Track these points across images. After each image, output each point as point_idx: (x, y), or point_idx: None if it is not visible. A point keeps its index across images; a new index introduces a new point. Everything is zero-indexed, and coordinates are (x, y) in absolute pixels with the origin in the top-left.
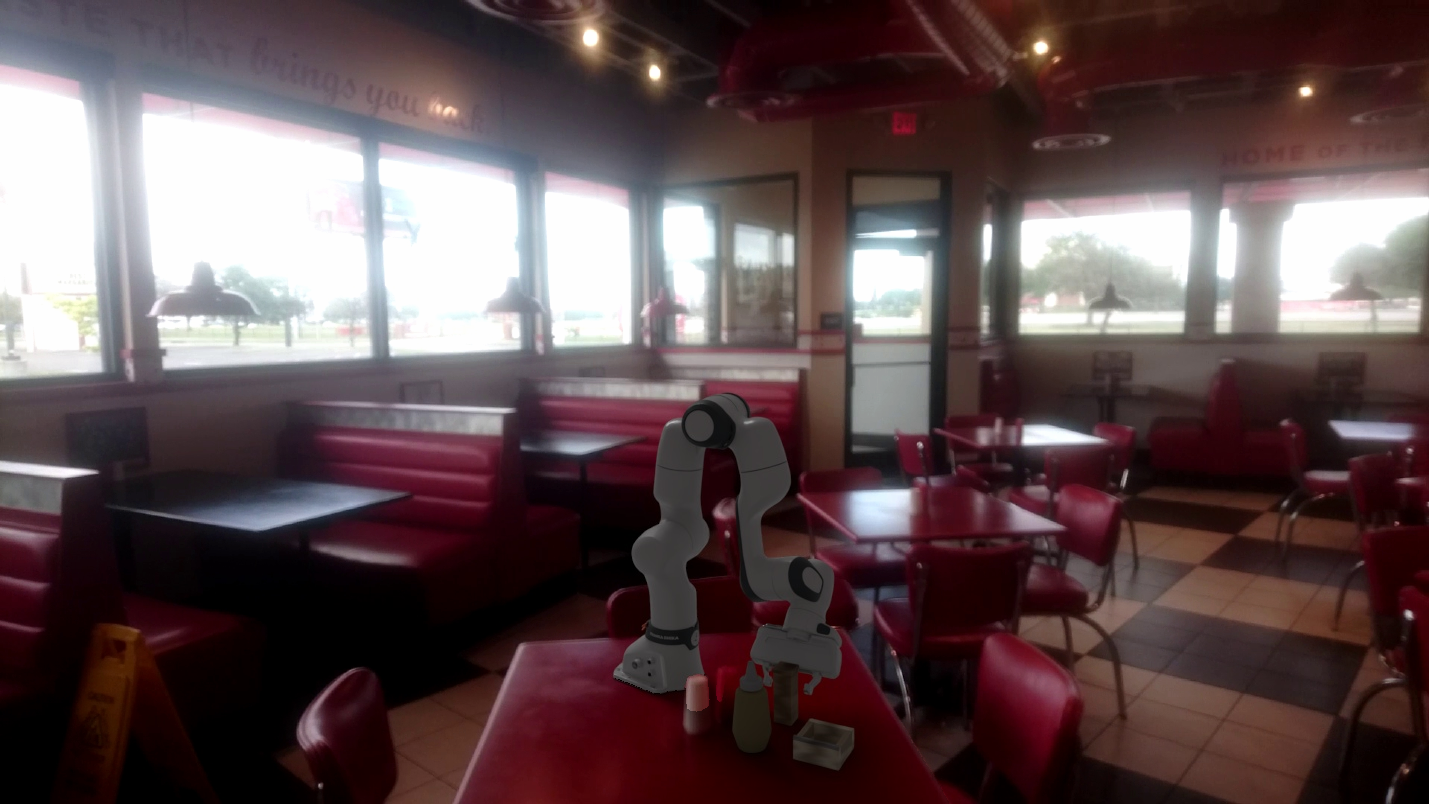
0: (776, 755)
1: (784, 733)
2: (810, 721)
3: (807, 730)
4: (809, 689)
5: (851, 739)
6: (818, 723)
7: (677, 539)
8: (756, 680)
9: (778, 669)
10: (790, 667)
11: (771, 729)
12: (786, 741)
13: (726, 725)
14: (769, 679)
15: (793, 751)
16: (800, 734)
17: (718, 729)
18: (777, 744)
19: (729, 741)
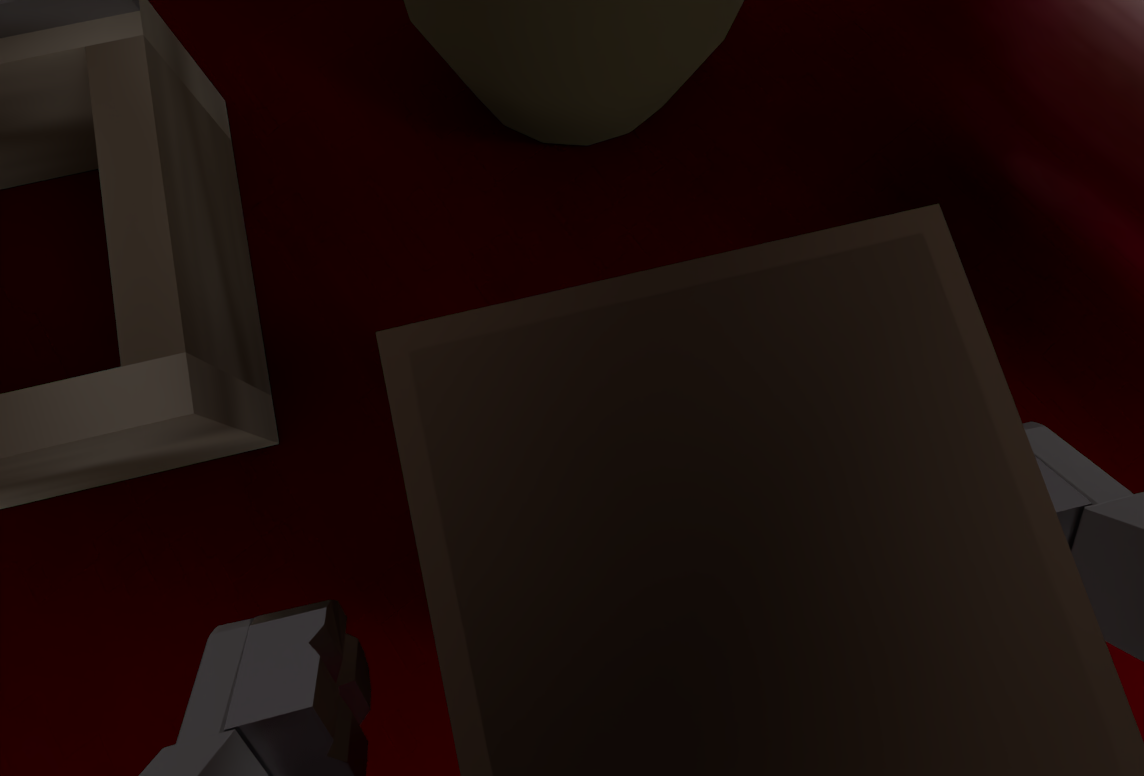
0: (355, 67)
1: None
2: (159, 358)
3: (104, 200)
4: (215, 653)
5: None
6: (66, 380)
7: None
8: None
9: (783, 279)
10: (602, 618)
11: (409, 9)
12: (405, 261)
13: (937, 157)
14: None
15: (193, 63)
16: (124, 96)
17: (936, 77)
18: (437, 184)
19: (748, 6)
